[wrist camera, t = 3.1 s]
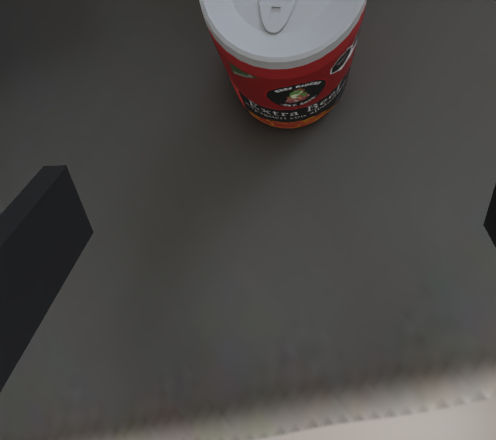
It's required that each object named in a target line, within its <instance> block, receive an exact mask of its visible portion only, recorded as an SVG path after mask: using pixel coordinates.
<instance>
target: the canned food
mask: <svg viewBox="0 0 496 440" xmlns="http://www.w3.org/2000/svg"><path fill="white" fill-rule="evenodd" d="M199 1H200V5H201V10H202V13H203V16H204V19H205V22H206V25H207V27H208V29H209V32H210V35H211V37H212V40H213V42H214V44H215V46H216V48H217V51H218V53H219V55H220V57H221V60H222V62H223V64H224V66H225V68H226V71H227V73H228V75H229V77H230V79H231V82H232V84H233V86H234V88H235V90H236V93H237V95H238V97H239V99H240V101H241V102H242V104H243V106H244V107H245V108H246V109H247V110H248V112H249V113H250V114H251V115H252V116H254V117H255V118H257V119H258V120H259V121H261V122H263V123H265V124H268V125H270V126H274V127H278V128H297V127H302V126H306V125H308V124H310V123H313V122H315V121H317V120H318V119H320V118H321V117H323V116H324V115H326V114H327V113H328V112H329V111H330V110H331V109H332V108H333V107H334V106H335V104H336V103H337V101H338V100H339V98H340V97H341V95H342V92H343V90H344V88H345V86H346V82H347V78H348V74H349V70H350V66H351V62H352V58H353V55H354V51H355V47H356V43H357V39H358V35H359V31H360V27H361V24H362V20H363V16H364V11H365V7H366V3H367V0H199Z"/></svg>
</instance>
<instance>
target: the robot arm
mask: <svg viewBox="0 0 496 440" xmlns="http://www.w3.org/2000/svg"><path fill="white" fill-rule="evenodd" d="M484 227H485V229H486V230H487V232H488V234H489V236H490V238H491V240H492V242H493V243H494V245H495V247H496V185H495V188H494V191H493V195H492V198H491V202H490V205H489V208H488V212H487V215H486V218H485V222H484ZM92 234H93V230H92V228H91V225H90V223H89V220H88V218H87V215H86V213H85V210H84V208H83V206H82V203H81V201H80V198H79V196H78V193H77V191H76V188H75V186H74V183H73V181H72V179H71V176H70V174H69V171H68V169H67V166H66V165H65V166H44V167H43V168H42V169H41V170H40V171H39V172H38V173H37V175H36V176H35V177H34V178H33V179H32V180H31V181H30V182H29V184H28V185H27V186H26V187H25V188H24V189H23V190H22V191H21V193H20V194H19V195H18V196H17V197H16V198H15V199H14V200H13V202H12V203H11V204H10V205H9V206H8V207H7V208H6V209H5V211H4V212H3V213H2V214H1V215H0V392H1V390H2V388H3V387H4V385H5V383H6V381H7V380H8V378H9V376H10V375H11V373H12V371H13V369H14V368H15V366H16V364H17V362H18V361H19V359H20V357H21V356H22V354H23V352H24V350H25V349H26V347H27V345H28V344H29V342H30V340H31V338H32V337H33V335H34V333H35V332H36V330H37V328H38V326H39V325H40V323H41V321H42V320H43V318H44V316H45V314H46V313H47V311H48V309H49V308H50V306H51V304H52V302H53V301H54V299H55V297H56V295H57V294H58V292H59V290H60V289H61V287H62V285H63V283H64V282H65V280H66V278H67V277H68V275H69V273H70V271H71V270H72V268H73V266H74V265H75V263H76V261H77V259H78V258H79V256H80V254H81V253H82V251H83V249H84V247H85V246H86V244H87V242H88V241H89V239H90V237H91V235H92Z"/></svg>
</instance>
